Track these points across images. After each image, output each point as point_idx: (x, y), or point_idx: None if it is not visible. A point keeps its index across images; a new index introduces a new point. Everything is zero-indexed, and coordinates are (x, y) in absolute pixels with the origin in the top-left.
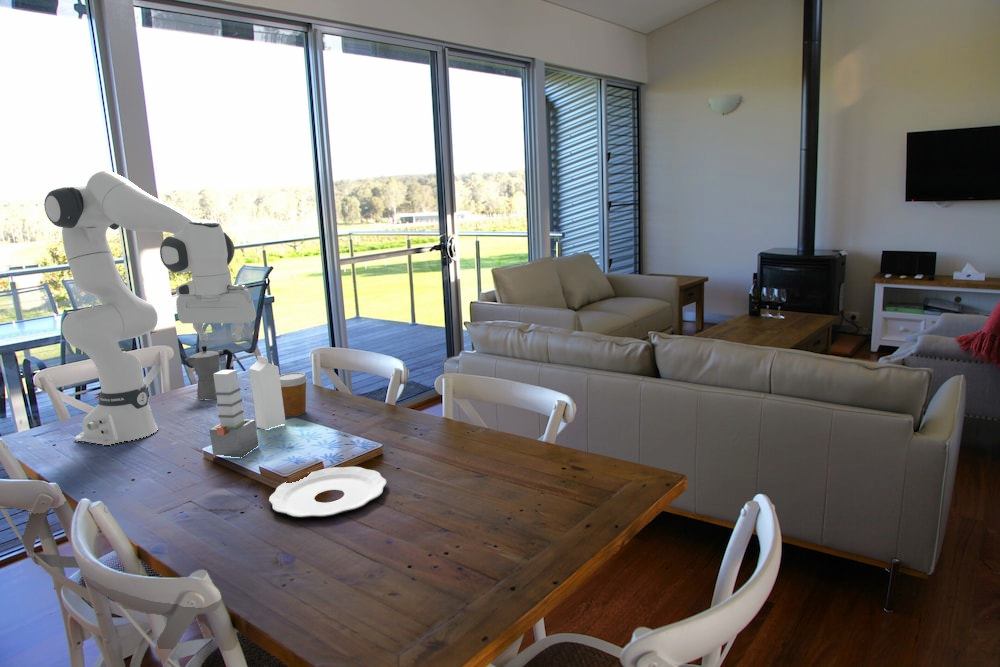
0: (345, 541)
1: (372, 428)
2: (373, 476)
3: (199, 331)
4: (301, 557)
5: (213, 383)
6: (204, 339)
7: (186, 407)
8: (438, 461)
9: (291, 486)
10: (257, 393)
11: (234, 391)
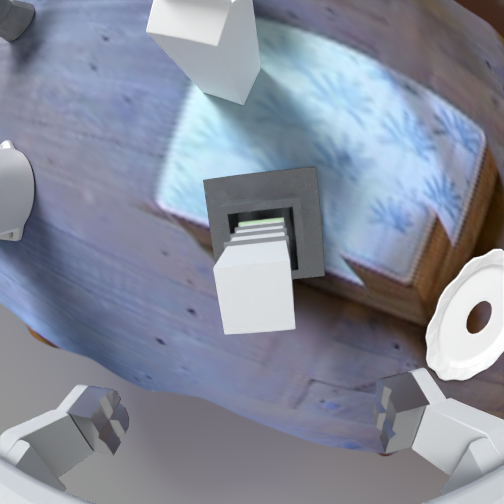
0: (500, 379)
1: (431, 55)
2: None
3: (78, 460)
4: (474, 407)
5: (12, 15)
6: (127, 425)
7: (10, 69)
8: None
9: (438, 322)
10: (202, 68)
11: (291, 273)
